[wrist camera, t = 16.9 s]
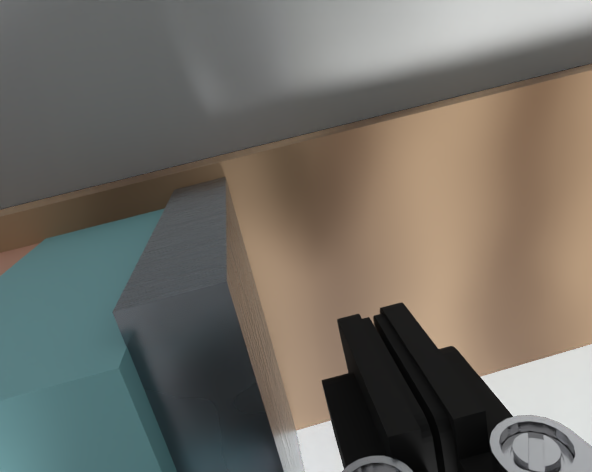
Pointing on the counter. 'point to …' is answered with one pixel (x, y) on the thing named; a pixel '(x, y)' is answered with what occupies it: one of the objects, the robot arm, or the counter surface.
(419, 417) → the robot arm
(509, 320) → the wooden book rack
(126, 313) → the bookend
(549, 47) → the counter surface
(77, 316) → the teal rectangular block
